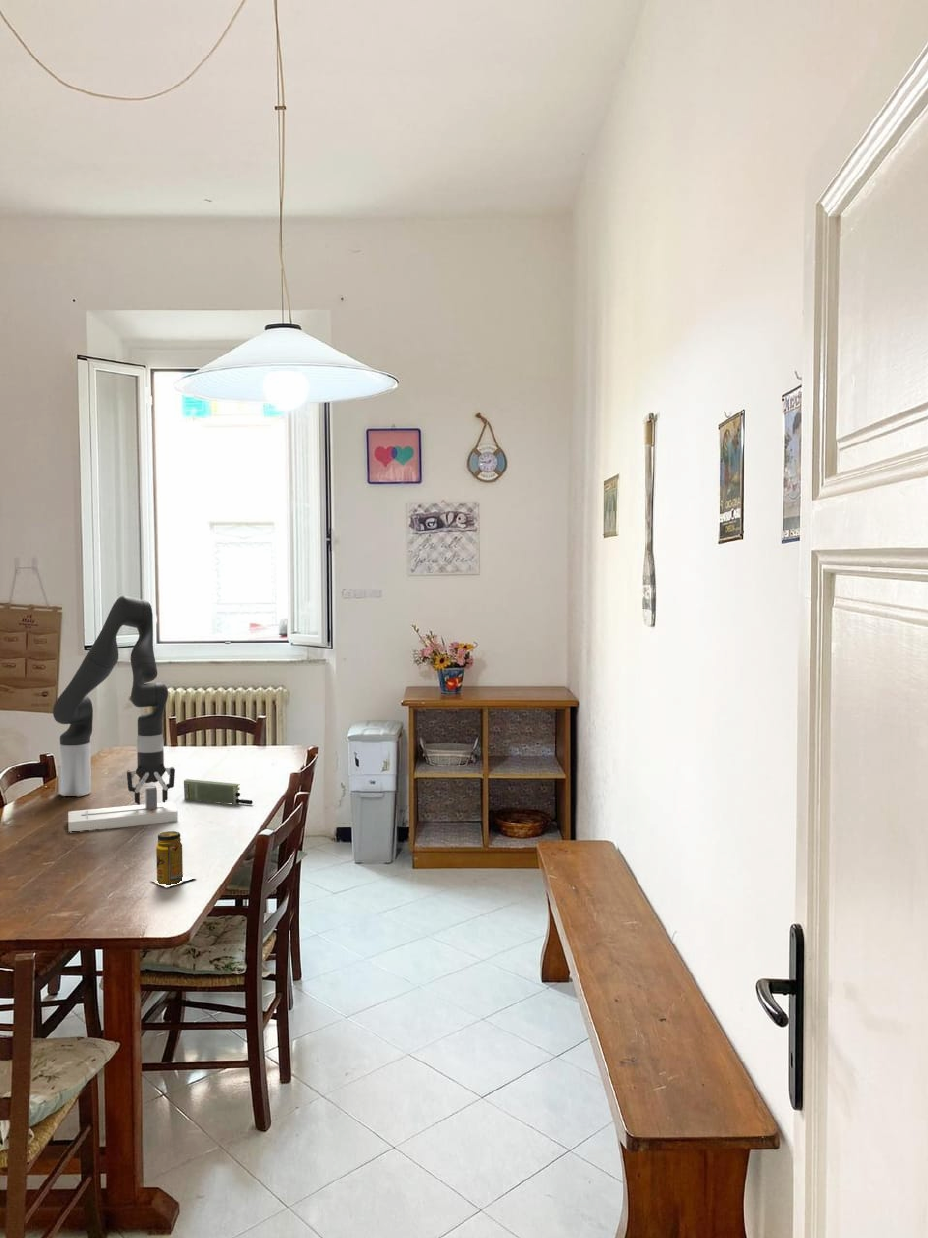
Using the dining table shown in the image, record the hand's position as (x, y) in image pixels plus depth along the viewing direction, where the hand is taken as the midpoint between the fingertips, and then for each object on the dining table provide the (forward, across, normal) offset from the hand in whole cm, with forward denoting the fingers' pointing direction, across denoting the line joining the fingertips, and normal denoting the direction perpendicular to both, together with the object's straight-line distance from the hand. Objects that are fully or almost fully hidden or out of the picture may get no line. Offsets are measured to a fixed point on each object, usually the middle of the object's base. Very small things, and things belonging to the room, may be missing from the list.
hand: (151, 803), depth 273 cm
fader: (+1, 0, 0) cm, 1 cm away
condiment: (+5, 0, -58) cm, 58 cm away
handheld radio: (+5, +22, +12) cm, 25 cm away
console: (+5, -8, 0) cm, 9 cm away
